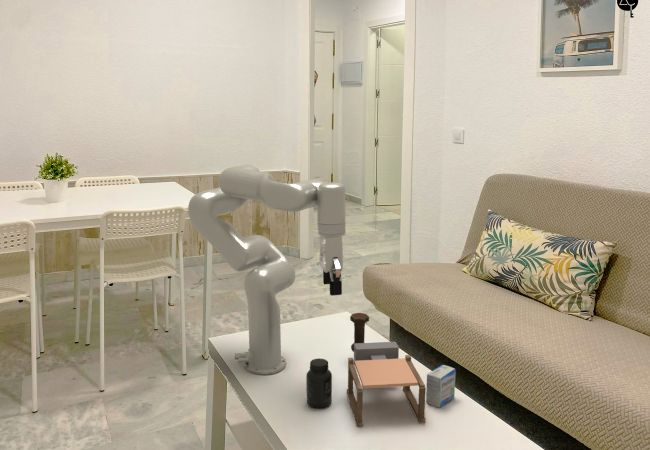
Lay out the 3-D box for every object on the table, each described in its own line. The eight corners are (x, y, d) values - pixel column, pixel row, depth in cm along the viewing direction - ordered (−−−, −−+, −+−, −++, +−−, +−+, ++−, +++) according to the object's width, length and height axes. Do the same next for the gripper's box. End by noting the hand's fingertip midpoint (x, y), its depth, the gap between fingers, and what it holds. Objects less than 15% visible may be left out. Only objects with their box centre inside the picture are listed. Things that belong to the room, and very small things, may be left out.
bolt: (368, 357, 188) (369, 313, 185) (368, 365, 183) (368, 319, 180) (350, 357, 189) (350, 312, 186) (349, 364, 184) (349, 318, 181)
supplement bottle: (327, 395, 165) (327, 355, 163) (335, 407, 159) (335, 366, 156) (303, 398, 164) (303, 358, 161) (310, 411, 157) (310, 369, 154)
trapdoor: (363, 395, 150) (363, 378, 149) (350, 358, 170) (350, 343, 169) (417, 392, 152) (418, 375, 151) (398, 356, 172) (398, 341, 171)
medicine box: (439, 408, 159) (441, 378, 157) (425, 402, 162) (426, 373, 160) (454, 397, 164) (456, 368, 163) (440, 392, 167) (442, 363, 165)
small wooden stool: (356, 426, 150) (357, 386, 148) (346, 393, 167) (347, 356, 164) (425, 422, 152) (426, 383, 149) (408, 389, 169) (409, 353, 166)
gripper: (312, 222, 169) (313, 280, 172) (323, 236, 152) (324, 300, 156) (338, 221, 170) (339, 279, 174) (352, 235, 153) (352, 298, 157)
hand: (332, 289), depth 165 cm, fingers open, 9 cm apart
